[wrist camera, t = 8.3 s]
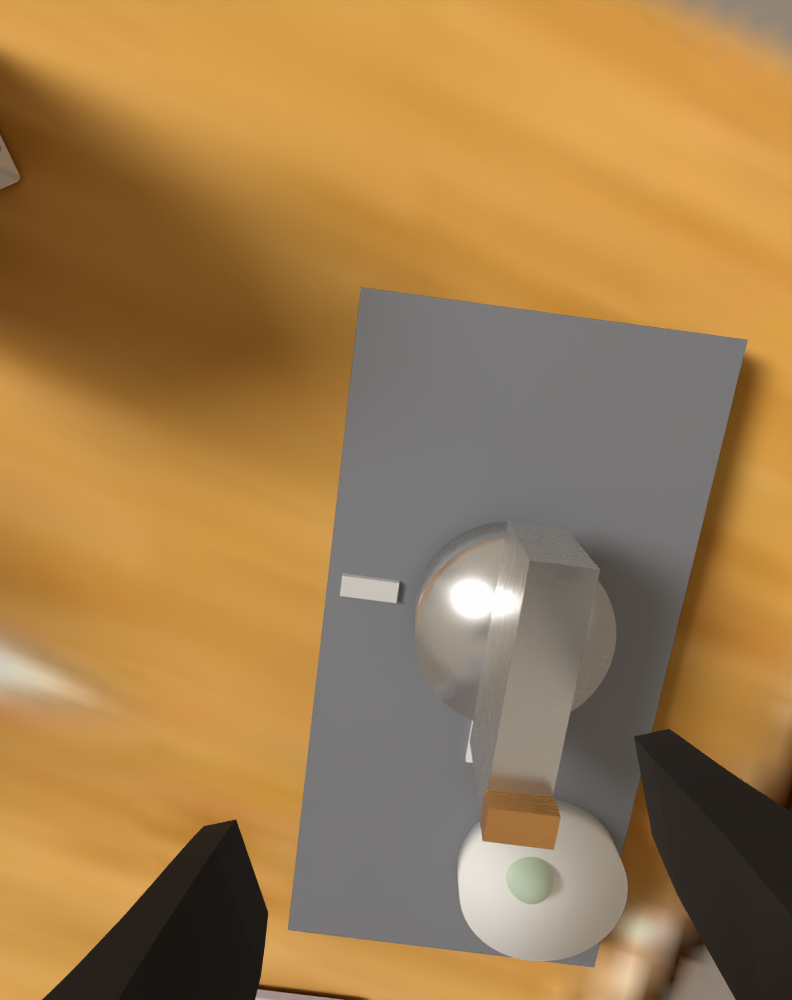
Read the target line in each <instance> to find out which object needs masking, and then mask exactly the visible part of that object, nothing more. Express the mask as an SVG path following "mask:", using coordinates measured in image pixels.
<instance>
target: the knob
mask: <svg viewBox="0 0 792 1000" xmlns="http://www.w3.org/2000/svg"><path fill="white" fill-rule="evenodd" d="M599 572H600V569H599V567H598V566H597V565H596V564H595V563H594V562H593V560H592V559H591V558H590V557H589V556H588V554H587V553H586V552H585V551H584V550H583V548H582V547H581V546H580V545H579V544H578V542H577V541H576V540H575V539H574V538H573V536H572V535H571V534H570V533H569V532H568V530H567V529H566V528H560V527H553V526H545V525H537V524H529V523H522V522H514V521H508V522H496V523H490V524H485V525H481V526H478V527H475V528H472V529H470V530H468V531H466V532H463V533H461V534H460V535H458V536H457V537H455V538H453V539H452V540H450V541H449V542H448V543H447V544H446V545H444V546H443V547H442V548H441V549H440V550H439V551H438V552H437V553H436V554H435V555H434V557H433V558H432V559H431V561H430V562H429V564H428V565H427V567H426V569H425V571H424V572H423V574H422V577H421V579H420V582H419V585H418V588H417V593H416V599H415V635H416V651H417V656H418V661H419V664H420V667H421V670H422V672H423V675H424V677H425V679H426V680H427V682H428V684H429V686H430V687H431V688H432V690H433V691H434V693H435V694H436V695H437V696H438V697H439V698H440V699H441V700H442V701H443V702H444V703H445V704H446V705H447V706H448V707H450V708H451V709H452V710H453V711H455V712H457V713H458V714H460V715H462V716H463V717H465V718H467V719H470V720H472V721H473V725H472V731H471V737H470V747H471V754H472V760H473V767H474V773H475V780H476V786H477V793H478V799H479V806H480V812H481V817H480V827H481V834H482V840H483V841H485V842H493V843H501V844H509V845H518V846H526V847H534V848H542V849H550V850H554V847H555V842H556V837H557V833H558V828H559V823H560V819H561V816H560V813H559V810H558V807H557V803H556V800H555V798H552V797H553V792H554V788H555V783H556V778H557V773H558V768H559V764H560V759H561V754H562V749H563V745H564V740H565V735H566V730H567V725H568V721H569V716H570V712H572V711H573V710H575V709H576V708H577V707H579V706H580V705H581V704H583V703H584V702H585V701H586V700H587V699H588V698H589V697H590V696H591V695H592V694H593V693H594V691H595V690H596V689H597V688H598V686H599V685H600V684H601V682H602V680H603V679H604V677H605V676H606V674H607V671H608V669H609V667H610V665H611V662H612V659H613V655H614V652H615V645H616V621H615V615H614V611H613V608H612V604H611V602H610V600H609V598H608V595H607V593H606V591H605V590H604V588H603V587H602V585H601V584H600V582H599V581H598V577H599Z"/></svg>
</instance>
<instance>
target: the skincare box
mask: <svg viewBox="0 0 792 1000" xmlns="http://www.w3.org/2000/svg"><path fill="white" fill-rule="evenodd" d="M19 180H20V175H19V173H18V171H17V168H16V166H15V164H14V162H13V160H12V158H11V156H10V154H9V152H8V150H7V148H6V146H5V143H4V141H3V139H2V137H1V135H0V190H1V189H3V188H5V187H7V186H9V185H12V184H14V183H16V182H18V181H19Z"/></svg>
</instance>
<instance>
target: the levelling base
mask: <svg viewBox="0 0 792 1000" xmlns="http://www.w3.org/2000/svg"><path fill="white" fill-rule="evenodd" d="M746 344H747V340H746V339H738V338H731V337H723V336H716V335H709V334H701V333H694V332H687V331H679V330H672V329H664V328H657V327H650V326H642V325H635V324H628V323H620V322H613V321H605V320H598V319H591V318H583V317H576V316H569V315H561V314H554V313H546V312H539V311H532V310H524V309H517V308H510V307H502V306H495V305H487V304H480V303H473V302H465V301H458V300H451V299H443V298H436V297H428V296H421V295H414V294H406V293H399V292H392V291H384V290H377V289H369V288H362V287H361V293H360V301H359V310H358V319H357V328H356V337H355V345H354V354H353V363H352V372H351V381H350V389H349V398H348V407H347V416H346V424H345V433H344V442H343V451H342V460H341V468H340V477H339V486H338V495H337V504H336V512H335V521H334V530H333V539H332V547H331V556H330V565H329V574H328V583H327V591H326V600H325V609H324V618H323V627H322V635H321V644H320V653H319V662H318V670H317V679H316V688H315V697H314V706H313V714H312V723H311V732H310V741H309V750H308V758H307V767H306V776H305V785H304V793H303V802H302V811H301V820H300V829H299V837H298V846H297V855H296V864H295V873H294V881H293V890H292V899H291V908H290V916H289V925H288V930H292V931H300V932H308V933H316V934H324V935H333V936H341V937H349V938H357V939H365V940H374V941H382V942H390V943H398V944H406V945H414V946H423V947H431V948H439V949H447V950H455V951H463V952H472V953H480V954H488V955H496V956H504V957H513V958H517V959H522V960H527V961H545V962H553V963H562V964H570V965H578V966H586V967H594V966H595V961H596V957H597V953H598V949H599V945H600V941H601V940H602V939H604V938H605V937H606V936H607V935H608V934H609V933H610V932H611V931H612V929H613V928H614V927H615V925H616V924H617V923H618V921H619V919H620V917H621V915H622V913H623V911H624V908H625V905H626V901H627V895H628V883H627V876H626V872H625V869H624V866H623V864H622V861H621V855H622V851H623V847H624V843H625V839H626V835H627V831H628V827H629V822H630V818H631V814H632V810H633V806H634V802H635V798H636V794H637V790H638V786H639V782H640V777H641V772H640V767H639V762H638V756H637V751H636V746H635V741H634V736H638V735H643V734H648V733H652V728H653V724H654V720H655V716H656V712H657V708H658V704H659V700H660V696H661V692H662V688H663V683H664V679H665V675H666V671H667V667H668V663H669V659H670V655H671V651H672V647H673V643H674V639H675V634H676V630H677V626H678V622H679V618H680V614H681V610H682V606H683V602H684V598H685V594H686V589H687V585H688V581H689V577H690V573H691V569H692V565H693V561H694V557H695V553H696V549H697V544H698V540H699V536H700V532H701V528H702V524H703V520H704V516H705V512H706V508H707V504H708V500H709V495H710V491H711V487H712V483H713V479H714V475H715V471H716V467H717V463H718V459H719V455H720V450H721V446H722V442H723V438H724V434H725V430H726V426H727V422H728V418H729V414H730V410H731V406H732V401H733V397H734V393H735V389H736V385H737V381H738V377H739V373H740V369H741V365H742V361H743V356H744V352H745V348H746ZM508 521H514V522H522V523H529V524H537V525H545V526H553V527H560V528H566V529H567V530H568V532H569V533H570V534H571V535H572V536H573V538H574V539H575V540H576V541H577V542H578V544H579V545H580V546H581V547H582V548H583V550H584V551H585V552H586V553H587V554H588V556H589V557H590V558H591V559H592V560H593V562H594V563H595V564H596V565H597V566H598V567H599V569H600V572H599V577H598V581H599V582H600V584H601V585H602V587H603V588H604V590H605V591H606V593H607V595H608V598H609V600H610V602H611V604H612V608H613V611H614V615H615V621H616V645H615V652H614V655H613V659H612V662H611V665H610V667H609V669H608V671H607V674H606V676H605V677H604V679H603V680H602V682H601V684H600V685H599V686H598V688H597V689H596V690H595V691H594V693H593V694H592V695H591V696H590V697H589V698H588V699H587V700H586V701H585V702H584V703H583V704H581V705H580V706H579V707H577V708H576V709H575V710H573V711H572V712H570V716H569V721H568V725H567V730H566V735H565V740H564V745H563V749H562V754H561V759H560V764H559V768H558V773H557V778H556V783H555V788H554V792H553V797H552V798H555V800H556V803H557V807H558V810H559V813H560V816H561V819H560V823H559V828H558V833H557V837H556V842H555V847H554V850H550V849H542V848H534V847H526V846H518V845H509V844H501V843H493V842H485V841H483V840H482V834H481V827H480V817H481V812H480V806H479V799H478V793H477V786H476V780H475V773H474V767H473V760H472V754H471V747H470V737H471V731H472V725H473V721H472V720H470V719H467V718H465V717H463V716H462V715H460V714H458V713H457V712H455V711H453V710H452V709H451V708H450V707H448V706H447V705H446V704H445V703H444V702H443V701H442V700H441V699H440V698H439V697H438V696H437V695H436V694H435V693H434V691H433V690H432V688H431V687H430V686H429V684H428V682H427V680H426V679H425V677H424V675H423V672H422V670H421V667H420V664H419V661H418V656H417V651H416V635H415V599H416V593H417V588H418V585H419V582H420V579H421V577H422V574H423V572H424V571H425V569H426V567H427V565H428V564H429V562H430V561H431V559H432V558H433V557H434V555H435V554H436V553H437V552H438V551H439V550H440V549H441V548H442V547H443V546H444V545H446V544H447V543H448V542H449V541H450V540H452V539H453V538H455V537H457V536H458V535H460V534H461V533H463V532H466V531H468V530H470V529H472V528H475V527H478V526H481V525H485V524H490V523H496V522H508Z"/></svg>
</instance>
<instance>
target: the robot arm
mask: <svg viewBox="0 0 792 1000" xmlns="http://www.w3.org/2000/svg"><path fill="white" fill-rule="evenodd" d="M634 741H635V746H636V751H637V756H638V762H639V767H640V772H641V777H642V783H643V788H644V793H645V798H646V804H647V809H648V814H649V819H650V825H651V830H652V835H653V838H654V841H655V843H656V845H657V848H658V850H659V853H660V855H661V857H662V860H663V862H664V865H665V867H666V869H667V872H668V874H669V876H670V879H671V881H672V883H673V886H674V888H675V890H676V892H677V895H678V897H679V898H680V900H681V902H682V904H683V906H684V908H685V909H686V911H687V913H688V915H689V917H690V918H691V920H692V922H693V924H694V926H695V928H696V929H697V931H698V933H699V935H700V937H701V938H702V940H703V942H704V944H705V946H706V947H707V949H708V951H709V953H710V954H711V956H712V958H713V960H714V962H715V963H716V965H717V967H718V969H719V971H720V972H721V974H722V976H723V978H724V979H725V981H726V983H727V985H728V987H729V988H730V990H731V992H732V993H733V995H734V997H735V999H736V1000H792V812H791V811H789V810H788V809H786V808H784V807H783V806H781V805H779V804H778V803H776V802H775V801H773V800H771V799H770V798H768V797H767V796H765V795H764V794H762V793H761V792H759V791H758V790H756V789H755V788H753V787H751V786H750V785H748V784H747V783H745V782H744V781H742V780H741V779H739V778H738V777H736V776H735V775H733V774H732V773H730V772H729V771H728V770H726V769H725V768H723V767H722V766H720V765H719V764H718V763H716V762H715V761H713V760H712V759H710V758H709V757H708V756H706V755H705V754H704V753H702V752H701V751H699V750H698V749H697V748H695V747H694V746H692V745H691V744H690V743H688V742H687V741H686V740H684V739H683V738H681V737H680V736H679V735H677V734H676V733H674V732H673V731H671V730H670V729H667V730H662V731H657V732H653V733H648V734H643V735H638V736H634ZM267 919H268V911H267V908H266V905H265V902H264V899H263V896H262V893H261V891H260V888H259V885H258V882H257V879H256V876H255V873H254V870H253V867H252V864H251V862H250V859H249V856H248V853H247V850H246V847H245V844H244V841H243V838H242V835H241V833H240V830H239V827H238V824H237V821H236V820H232V821H227V822H222V823H217V824H212V825H208V826H204V827H203V828H202V829H201V830H200V831H199V832H198V833H197V834H196V835H195V836H194V837H193V838H192V839H191V840H190V841H189V843H188V844H187V845H186V846H185V847H184V848H183V849H182V850H181V851H180V853H179V854H178V855H177V856H176V857H175V858H174V859H173V861H172V862H171V863H170V864H169V865H168V866H167V868H166V869H165V870H164V871H163V872H162V873H161V874H160V876H159V877H158V878H157V879H156V880H155V881H154V882H153V884H152V885H151V886H150V887H149V888H148V889H147V890H146V891H145V893H144V894H143V895H142V896H141V897H140V898H139V899H138V901H137V902H136V903H135V904H134V905H133V906H132V907H131V908H130V910H129V911H128V912H127V913H126V914H125V915H124V916H123V917H122V919H121V920H120V921H119V922H118V923H117V924H116V925H115V926H114V927H113V928H112V929H111V930H110V931H109V932H108V933H107V934H106V935H105V937H104V938H103V939H102V940H101V941H100V942H99V943H98V944H97V945H96V946H95V947H94V948H93V949H92V950H91V951H90V952H89V953H88V954H87V956H86V957H85V958H84V959H83V960H82V961H81V962H80V963H79V964H78V965H77V966H76V967H75V968H74V969H73V970H72V971H71V972H70V973H69V974H68V975H67V976H66V977H65V978H64V979H63V980H62V981H61V982H60V983H59V984H58V985H57V986H56V987H55V988H54V989H53V990H52V991H51V992H50V993H49V994H48V995H47V996H46V997H44V998H43V999H42V1000H342V999H334V998H326V997H318V996H309V995H301V994H293V993H285V992H276V991H268V990H260V989H258V985H259V981H260V977H261V970H262V963H263V955H264V948H265V938H266V929H267Z"/></svg>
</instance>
